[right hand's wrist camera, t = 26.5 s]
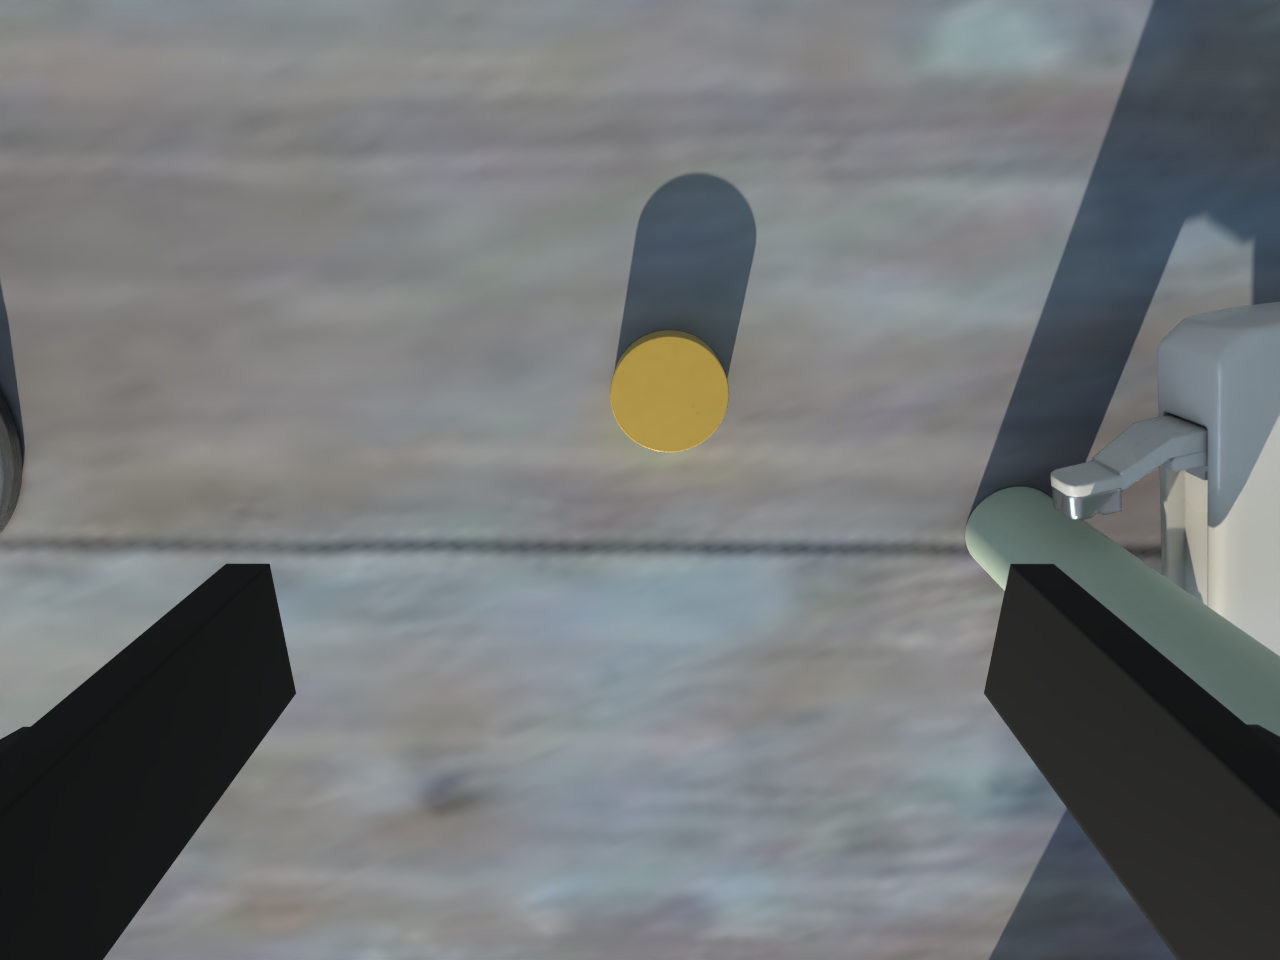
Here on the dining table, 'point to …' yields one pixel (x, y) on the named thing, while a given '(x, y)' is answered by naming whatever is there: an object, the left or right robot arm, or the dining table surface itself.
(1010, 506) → the green cylinder
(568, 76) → the dining table surface
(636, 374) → the lid
